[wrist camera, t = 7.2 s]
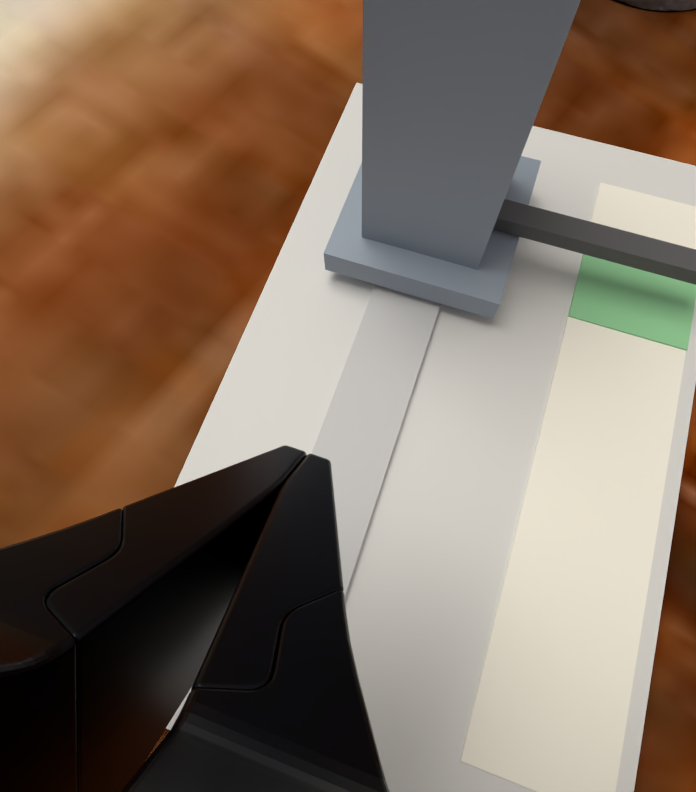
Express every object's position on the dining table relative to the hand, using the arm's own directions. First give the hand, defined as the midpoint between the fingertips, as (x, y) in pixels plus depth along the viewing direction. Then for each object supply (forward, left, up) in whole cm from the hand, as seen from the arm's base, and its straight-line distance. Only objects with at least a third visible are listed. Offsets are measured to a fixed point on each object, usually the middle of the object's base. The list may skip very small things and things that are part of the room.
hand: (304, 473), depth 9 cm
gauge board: (+6, -1, -9) cm, 11 cm away
